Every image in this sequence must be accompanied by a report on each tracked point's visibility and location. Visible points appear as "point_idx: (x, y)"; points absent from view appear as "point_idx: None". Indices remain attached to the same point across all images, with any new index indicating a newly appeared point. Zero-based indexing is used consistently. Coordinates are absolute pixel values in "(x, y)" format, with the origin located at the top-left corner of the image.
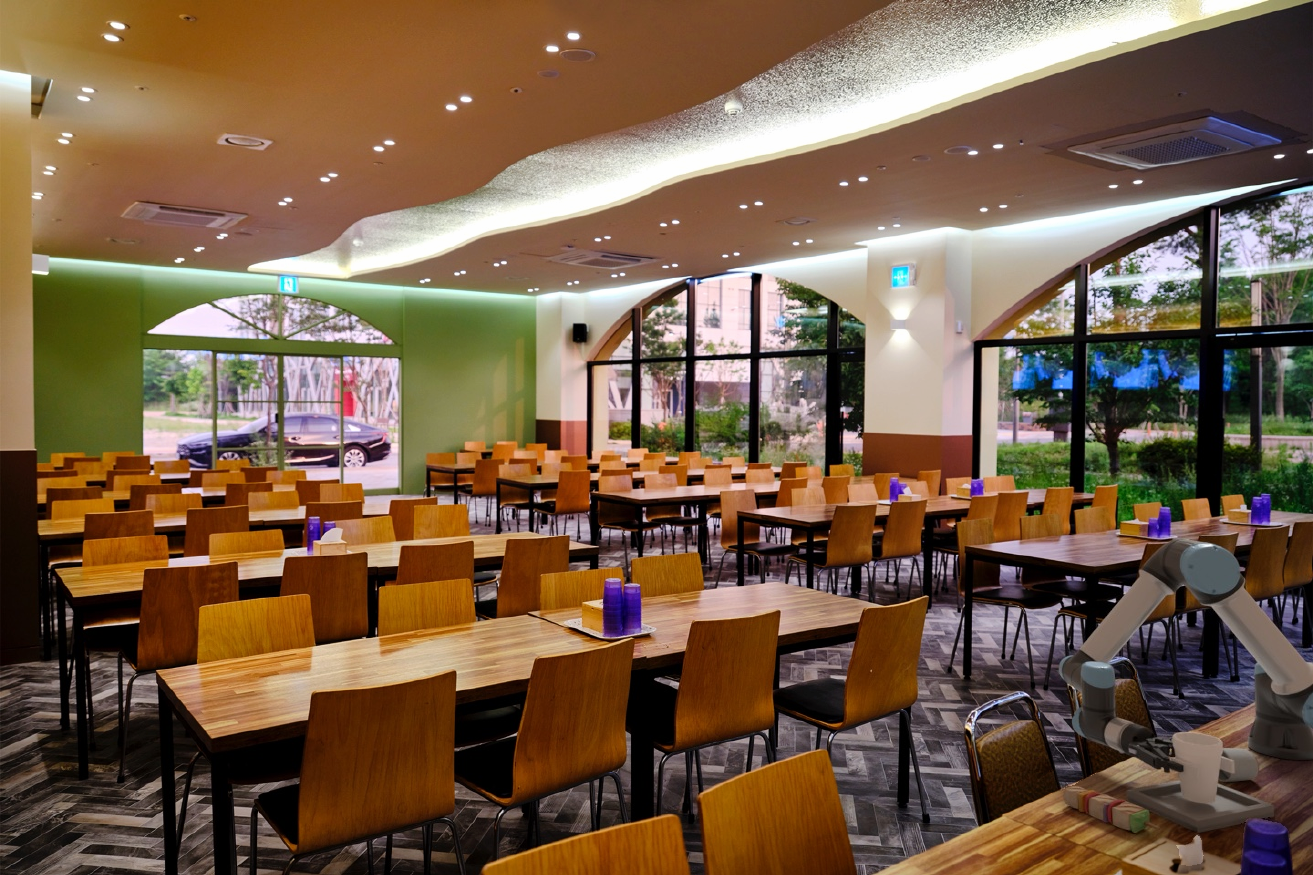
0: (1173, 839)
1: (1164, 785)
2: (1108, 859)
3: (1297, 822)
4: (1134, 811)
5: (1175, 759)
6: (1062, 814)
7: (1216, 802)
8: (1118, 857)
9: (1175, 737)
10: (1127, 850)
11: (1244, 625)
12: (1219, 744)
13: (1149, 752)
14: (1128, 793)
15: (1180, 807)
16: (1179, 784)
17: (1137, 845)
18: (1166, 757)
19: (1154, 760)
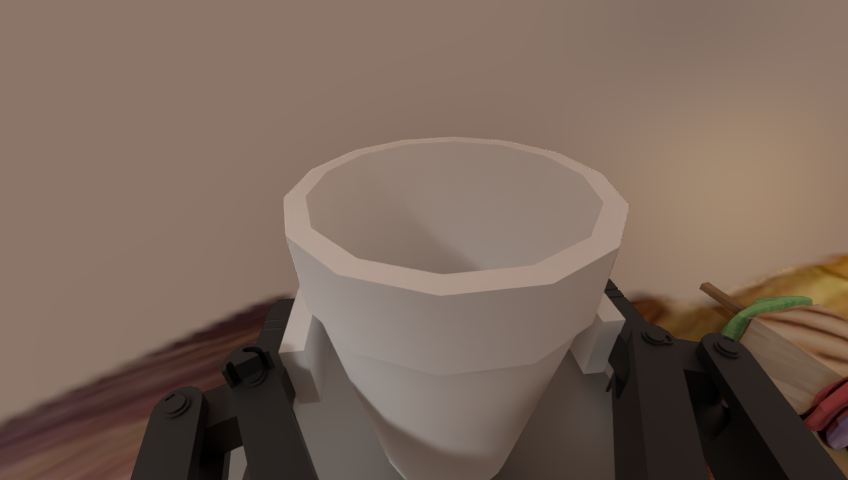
0: (651, 299)
1: None
2: (840, 265)
3: (270, 303)
4: (798, 311)
5: (605, 297)
6: None
7: (363, 432)
8: (814, 267)
9: (611, 218)
10: (790, 283)
11: None
12: (404, 141)
13: (800, 473)
14: None
15: (542, 429)
16: None
17: (761, 295)
18: (656, 331)
19: (724, 437)
